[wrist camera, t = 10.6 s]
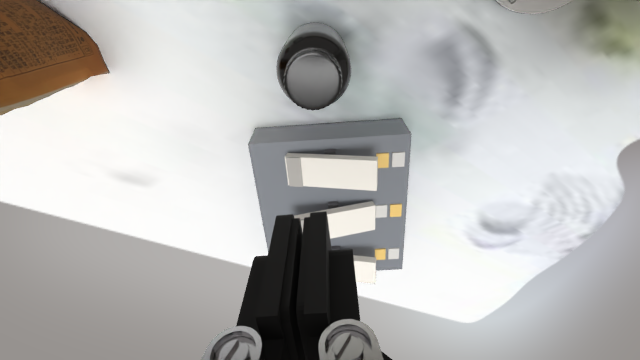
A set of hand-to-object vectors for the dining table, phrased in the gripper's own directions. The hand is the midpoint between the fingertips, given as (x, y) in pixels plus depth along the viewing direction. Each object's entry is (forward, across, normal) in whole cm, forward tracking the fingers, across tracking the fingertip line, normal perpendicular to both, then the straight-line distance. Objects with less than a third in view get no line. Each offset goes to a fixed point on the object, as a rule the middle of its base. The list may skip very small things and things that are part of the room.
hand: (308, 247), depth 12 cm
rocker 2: (+24, 0, +17) cm, 29 cm away
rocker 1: (+24, 0, +10) cm, 26 cm away
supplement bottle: (+31, 0, -1) cm, 31 cm away
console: (+31, 0, +17) cm, 35 cm away
